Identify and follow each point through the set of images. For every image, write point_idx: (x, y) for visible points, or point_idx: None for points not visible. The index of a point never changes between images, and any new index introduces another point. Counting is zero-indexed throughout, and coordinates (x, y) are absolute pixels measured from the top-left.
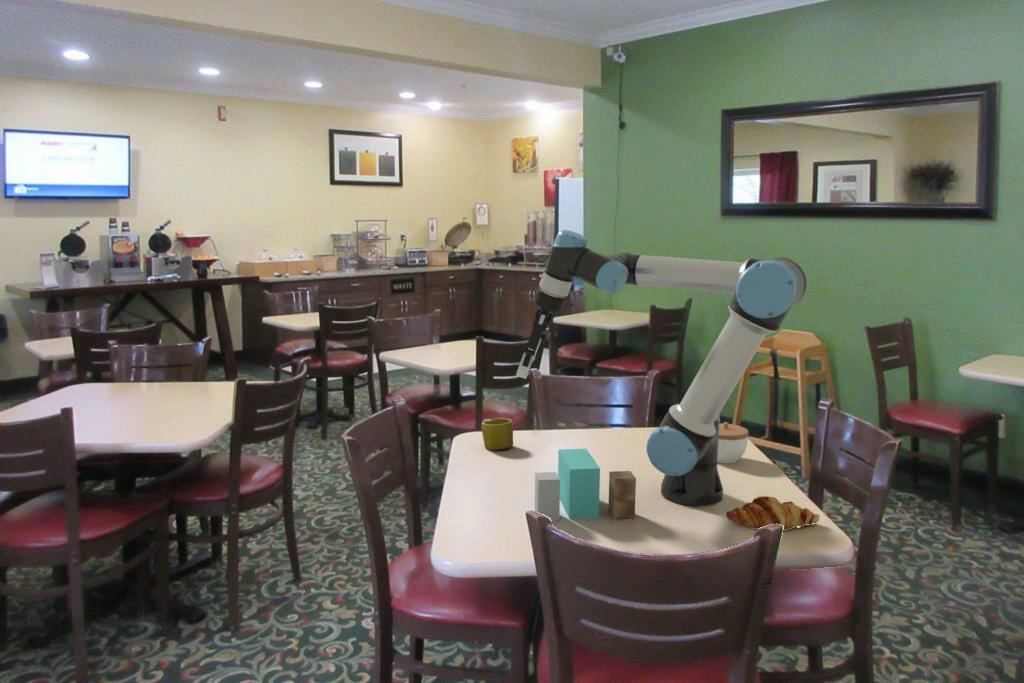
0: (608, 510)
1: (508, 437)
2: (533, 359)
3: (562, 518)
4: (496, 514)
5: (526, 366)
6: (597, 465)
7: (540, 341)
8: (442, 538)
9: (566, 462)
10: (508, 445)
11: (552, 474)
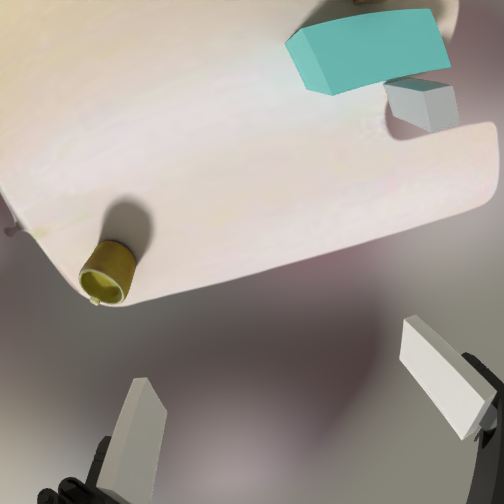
0: (357, 4)
1: (111, 253)
2: (145, 387)
3: None
4: (404, 170)
5: (467, 358)
6: (415, 9)
7: (116, 479)
8: (460, 212)
9: (418, 72)
10: (117, 245)
11: (434, 98)
